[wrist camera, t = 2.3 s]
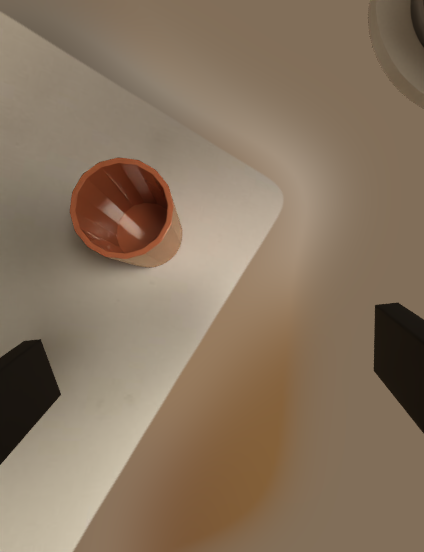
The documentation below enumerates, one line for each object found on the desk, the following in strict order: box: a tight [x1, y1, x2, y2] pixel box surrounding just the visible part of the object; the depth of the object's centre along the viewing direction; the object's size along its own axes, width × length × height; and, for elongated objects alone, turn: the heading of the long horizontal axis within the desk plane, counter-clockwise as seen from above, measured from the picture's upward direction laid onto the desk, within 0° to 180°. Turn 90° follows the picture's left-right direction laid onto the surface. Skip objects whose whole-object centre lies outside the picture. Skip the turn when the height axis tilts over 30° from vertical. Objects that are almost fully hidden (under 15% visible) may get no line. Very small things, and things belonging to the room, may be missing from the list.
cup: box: [70, 158, 182, 268], centre depth 24 cm, size 7×7×10 cm
